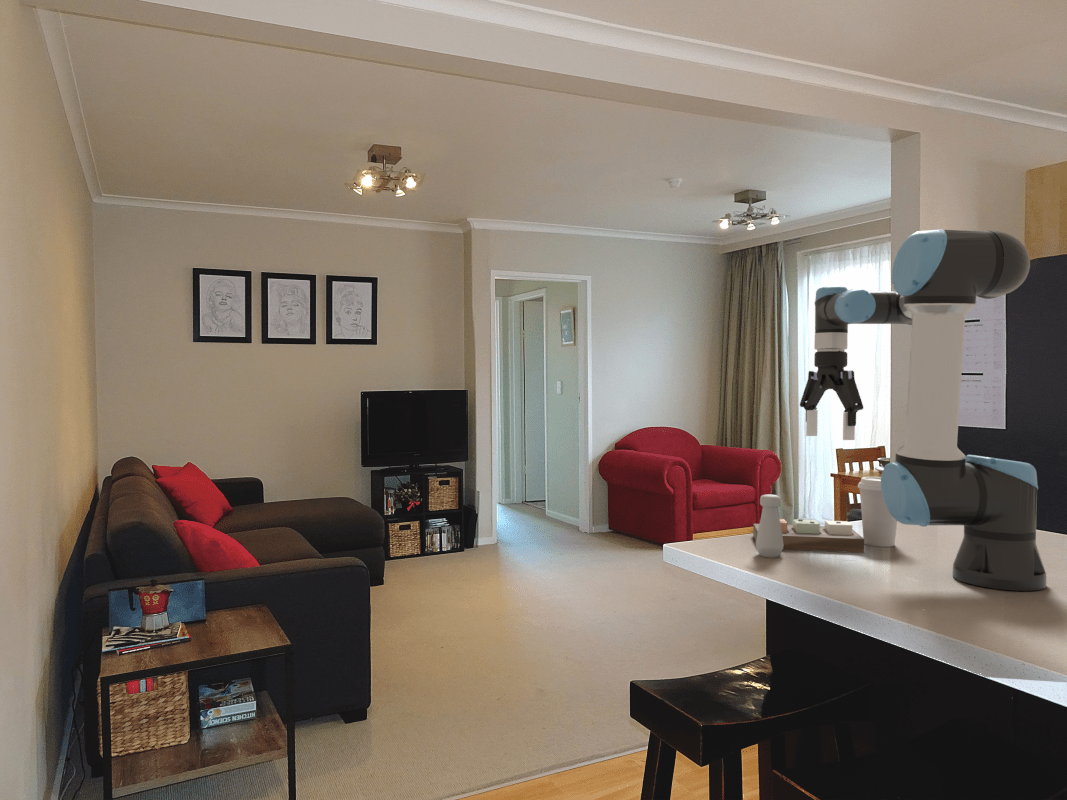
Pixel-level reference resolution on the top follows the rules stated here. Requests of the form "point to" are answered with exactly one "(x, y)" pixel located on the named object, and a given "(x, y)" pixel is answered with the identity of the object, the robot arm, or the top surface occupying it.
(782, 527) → the tile
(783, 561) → the top surface
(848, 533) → the cream square block
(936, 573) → the top surface
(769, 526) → the salt shaker
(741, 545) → the top surface
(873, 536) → the coffee cup
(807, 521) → the pale green square block
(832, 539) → the button board
